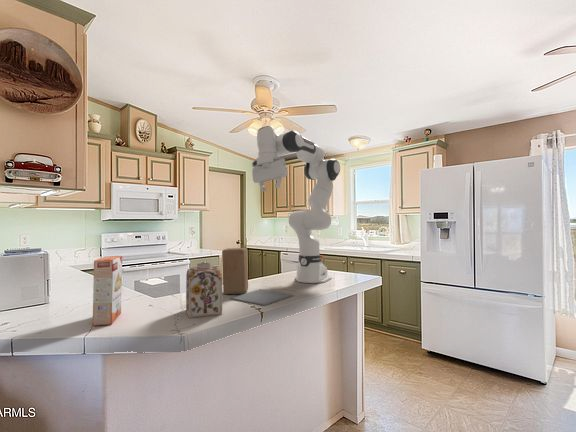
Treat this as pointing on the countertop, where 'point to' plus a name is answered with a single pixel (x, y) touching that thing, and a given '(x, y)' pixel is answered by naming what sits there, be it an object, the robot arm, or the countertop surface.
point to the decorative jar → (203, 290)
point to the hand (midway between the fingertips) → (270, 189)
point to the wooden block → (235, 271)
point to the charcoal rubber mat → (261, 297)
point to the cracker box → (107, 290)
